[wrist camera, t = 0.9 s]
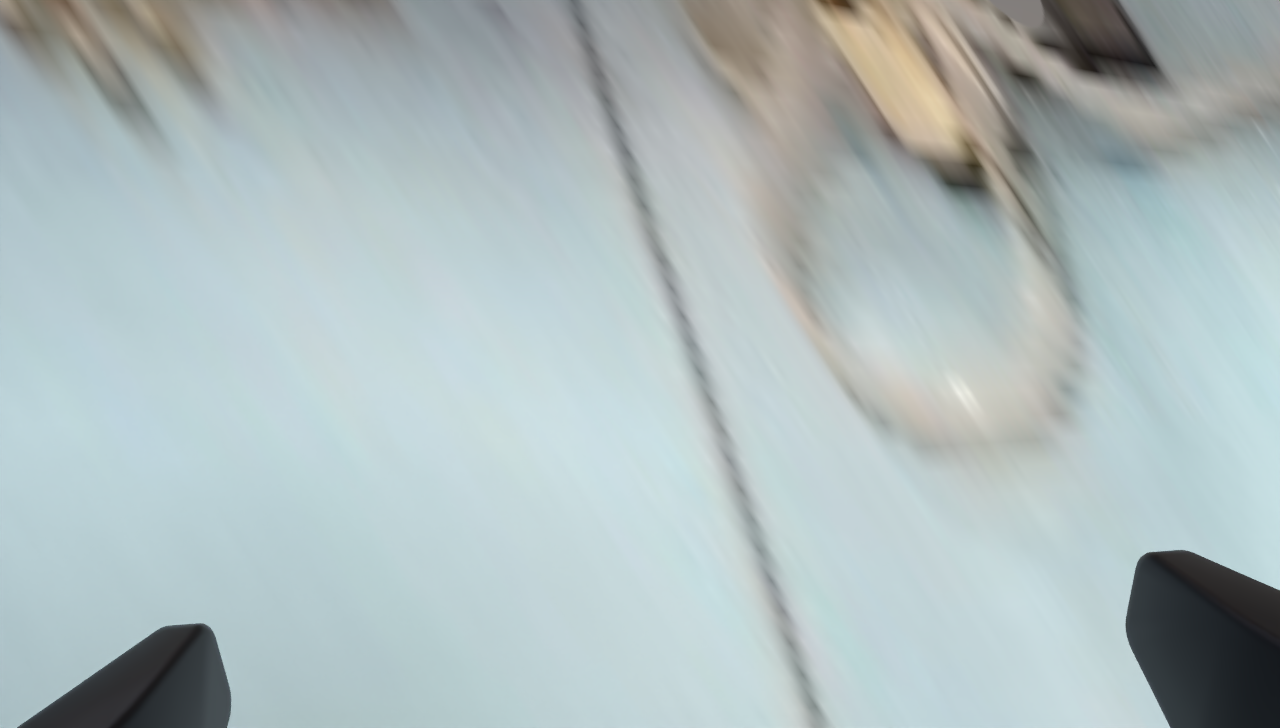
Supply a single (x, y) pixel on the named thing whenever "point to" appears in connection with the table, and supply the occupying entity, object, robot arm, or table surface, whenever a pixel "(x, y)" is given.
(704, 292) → the table surface
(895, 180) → the table surface
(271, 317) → the table surface
